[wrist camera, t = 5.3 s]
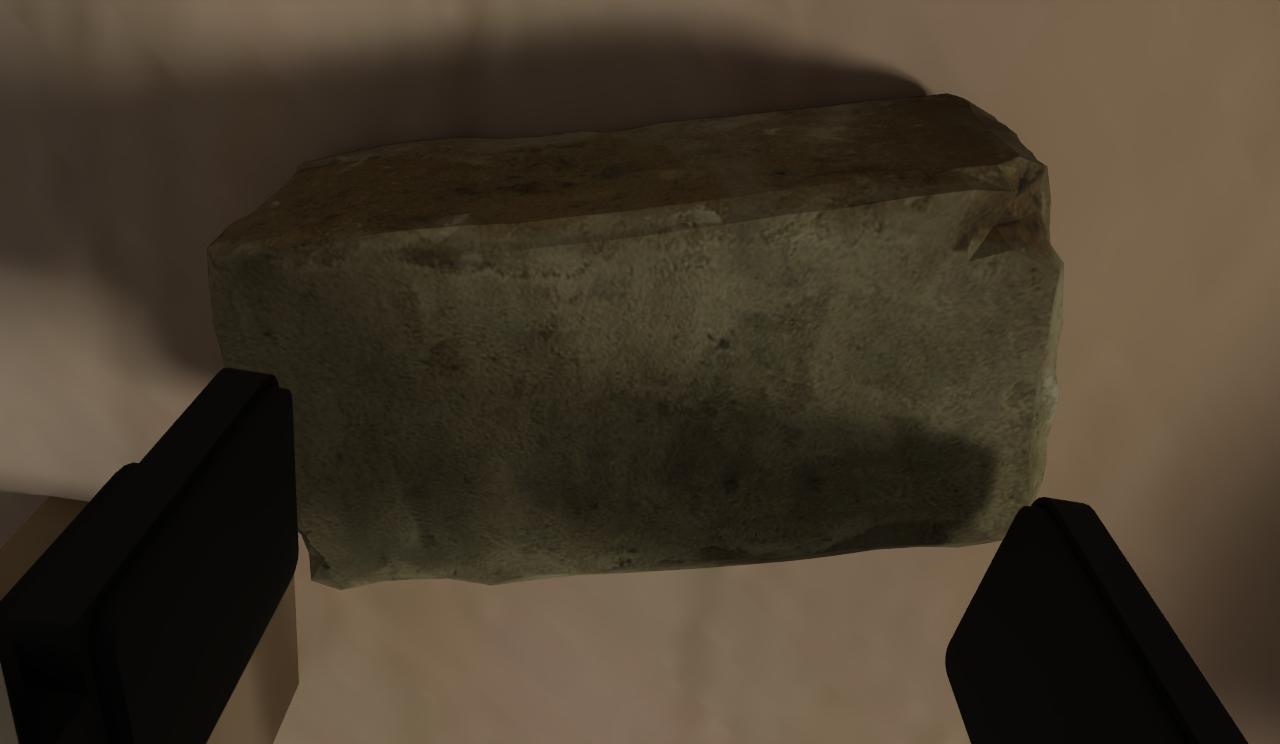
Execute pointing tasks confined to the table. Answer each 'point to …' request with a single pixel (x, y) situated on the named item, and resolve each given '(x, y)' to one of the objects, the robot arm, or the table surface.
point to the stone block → (656, 342)
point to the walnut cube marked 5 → (265, 680)
